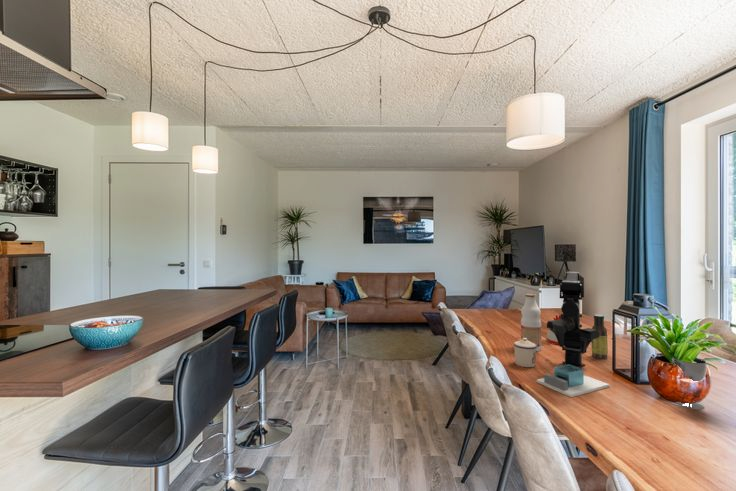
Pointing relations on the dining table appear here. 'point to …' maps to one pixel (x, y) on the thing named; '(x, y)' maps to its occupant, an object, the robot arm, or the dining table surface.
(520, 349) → the teacup with lid
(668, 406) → the dining table surface
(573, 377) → the slotted lock block
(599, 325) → the sauce bottle
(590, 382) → the rail base plate
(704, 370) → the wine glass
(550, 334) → the kitchen timer
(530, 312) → the fruit juice
